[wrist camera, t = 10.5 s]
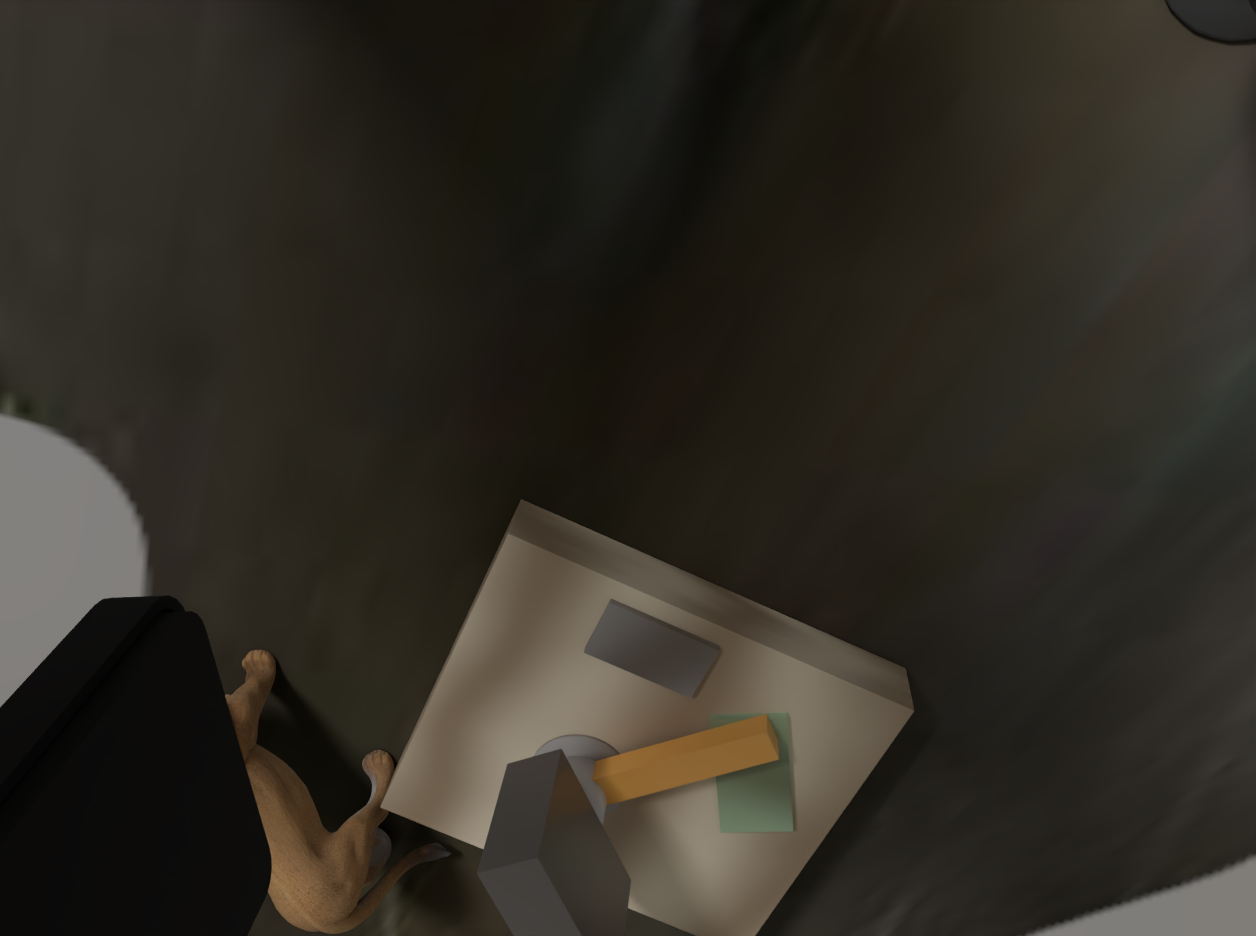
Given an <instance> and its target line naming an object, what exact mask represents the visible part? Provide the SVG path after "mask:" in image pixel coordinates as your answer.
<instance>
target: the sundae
mask: <svg viewBox="0 0 1256 936" xmlns="http://www.w3.org/2000/svg"><path fill="white" fill-rule="evenodd" d="M1166 1H1167V3H1168V6H1169V8H1170V9H1171V11H1172V12H1173V13H1174V14H1175V15H1176V16H1177V17H1178V18H1179V19H1180V20H1181V21H1182V22H1183V23H1184V24H1186V25H1187V26H1188V27H1190V28H1191V29H1192V30H1193V31H1195V32H1197V33H1200V34H1202V35H1205V36H1208V37H1211V38H1215V39H1219V40H1224V41H1242V40H1250V39H1256V0H1166Z"/></svg>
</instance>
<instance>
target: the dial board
mask: <svg viewBox="0 0 1256 936" xmlns="http://www.w3.org/2000/svg"><path fill="white" fill-rule="evenodd" d="M913 712H914V706H913V701H912V696H911V692H910V687H909V682H908V677H907V672H906V668H904V667H902V666H900V665H897V664H895V663H893V662H890V661H888V660H886V659H884V658H881V657H879V656H877V655H875V654H872V653H870V652H868V651H865V650H863V649H861V648H859V647H856V646H854V645H852V644H850V643H847V642H845V641H843V640H840V639H838V638H836V637H834V636H831V635H829V634H827V633H825V632H822V631H820V630H818V629H815V628H813V627H811V626H809V625H806V624H804V623H802V622H800V621H797V620H795V619H793V618H790V617H788V616H786V615H784V614H781V613H779V612H777V611H775V610H772V609H770V608H768V607H765V606H763V605H761V604H759V603H756V602H754V601H752V600H750V599H747V598H745V597H743V596H740V595H738V594H736V593H734V592H731V591H729V590H727V589H725V588H722V587H720V586H718V585H715V584H713V583H711V582H709V581H706V580H704V579H702V578H700V577H697V576H695V575H693V574H690V573H688V572H686V571H684V570H681V569H679V568H677V567H674V566H672V565H670V564H668V563H665V562H663V561H661V560H659V559H656V558H654V557H652V556H649V555H647V554H645V553H643V552H640V551H638V550H636V549H634V548H631V547H629V546H627V545H624V544H622V543H620V542H618V541H615V540H613V539H611V538H609V537H606V536H604V535H602V534H599V533H597V532H595V531H593V530H590V529H588V528H586V527H584V526H581V525H579V524H577V523H574V522H572V521H570V520H568V519H565V518H563V517H561V516H559V515H556V514H554V513H552V512H549V511H547V510H545V509H543V508H540V507H538V506H536V505H534V504H531V503H529V502H527V501H524V500H522V499H521V501H520V503H519V505H518V507H517V509H516V511H515V513H514V516H513V518H512V520H511V522H510V524H509V526H508V528H507V531H506V533H505V535H504V537H503V539H502V541H501V543H500V546H499V548H498V550H497V552H496V554H495V556H494V558H493V561H492V563H491V565H490V567H489V569H488V571H487V573H486V576H485V578H484V580H483V582H482V584H481V586H480V588H479V591H478V593H477V595H476V597H475V599H474V601H473V603H472V606H471V608H470V610H469V612H468V614H467V616H466V619H465V621H464V623H463V625H462V627H461V629H460V631H459V634H458V636H457V638H456V640H455V642H454V644H453V646H452V649H451V651H450V653H449V655H448V657H447V659H446V661H445V664H444V666H443V668H442V670H441V672H440V674H439V676H438V679H437V681H436V683H435V685H434V687H433V689H432V691H431V694H430V696H429V698H428V700H427V702H426V704H425V706H424V709H423V711H422V713H421V715H420V717H419V719H418V721H417V724H416V726H415V728H414V730H413V732H412V734H411V736H410V739H409V741H408V743H407V745H406V747H405V749H404V751H403V754H402V756H401V758H400V760H399V762H398V764H397V767H396V769H395V772H394V774H393V777H392V779H391V782H390V784H389V787H388V789H387V792H386V794H385V797H384V799H383V802H382V804H381V808H383V809H385V810H388V811H390V812H393V813H395V814H398V815H400V816H403V817H405V818H408V819H410V820H413V821H415V822H418V823H420V824H422V825H425V826H427V827H430V828H432V829H435V830H437V831H440V832H442V833H445V834H447V835H450V836H452V837H454V838H457V839H459V840H462V841H464V842H467V843H469V844H472V845H474V846H477V847H479V848H482V849H484V846H485V842H486V839H487V835H488V832H489V828H490V824H491V821H492V817H493V814H494V810H495V806H496V803H497V799H498V796H499V792H500V788H501V785H502V781H503V778H504V774H505V770H506V767H507V764H508V763H512V762H515V761H519V760H523V759H526V758H530V757H533V756H537V755H540V754H544V753H547V752H551V751H554V750H558V749H562V750H563V752H564V754H565V756H566V757H568V756H584V757H588V758H590V759H593V760H595V761H598V760H601V759H605V758H609V757H612V756H616V755H619V754H623V753H627V752H630V751H634V750H637V749H641V748H645V747H648V746H652V745H655V744H659V743H663V742H666V741H670V740H673V739H677V738H681V737H684V736H688V735H692V734H695V733H699V732H702V731H706V730H710V729H713V728H717V727H720V726H724V725H728V724H731V723H735V722H738V721H742V720H746V719H749V718H753V717H756V716H760V715H764V714H767V716H768V719H769V721H770V723H771V725H772V728H773V730H774V732H775V734H776V737H777V739H778V747H779V760H775V761H771V762H767V763H764V764H760V765H756V766H752V767H749V768H745V769H741V770H737V771H734V772H730V773H726V774H722V775H719V776H715V777H711V778H707V779H704V780H700V781H696V782H693V783H689V784H685V785H681V786H678V787H674V788H670V789H666V790H663V791H659V792H655V793H651V794H648V795H644V796H640V797H636V798H633V799H629V800H625V801H621V802H618V803H614V804H610V805H606V808H605V815H604V821H603V828H604V830H605V831H606V833H607V835H608V837H609V839H610V841H611V843H612V845H613V847H614V848H615V850H616V852H617V854H618V856H619V858H620V860H621V862H622V864H623V865H624V867H625V869H626V871H627V873H628V875H629V877H630V879H631V885H630V894H629V902H628V908H629V909H632V910H634V911H637V912H639V913H642V914H644V915H647V916H649V917H652V918H654V919H657V920H659V921H661V922H664V923H666V924H669V925H671V926H674V927H676V928H679V929H681V930H684V931H686V932H689V933H691V934H693V935H696V936H755V935H756V934H757V932H758V931H759V930H760V928H761V927H762V925H763V924H764V923H765V921H766V920H767V918H768V917H769V915H770V914H771V913H772V911H773V910H774V908H775V907H776V906H777V904H778V903H779V901H780V900H781V899H782V897H783V896H784V894H785V893H786V891H787V890H788V889H789V887H790V886H791V884H792V883H793V882H794V880H795V879H796V877H797V876H798V875H799V873H800V872H801V870H802V869H803V867H804V866H805V865H806V863H807V862H808V860H809V859H810V858H811V856H812V855H813V853H814V852H815V851H816V849H817V848H818V846H819V845H820V843H821V842H822V841H823V839H824V838H825V836H826V835H827V834H828V832H829V831H830V829H831V828H832V827H833V825H834V824H835V822H836V821H837V819H838V818H839V817H840V815H841V814H842V812H843V811H844V810H845V808H846V807H847V805H848V804H849V803H850V801H851V800H852V798H853V797H854V795H855V794H856V793H857V791H858V790H859V788H860V787H861V786H862V784H863V783H864V781H865V780H866V779H867V777H868V776H869V774H870V773H871V772H872V770H873V769H874V767H875V766H876V764H877V763H878V762H879V760H880V759H881V757H882V756H883V755H884V753H885V752H886V750H887V749H888V748H889V746H890V745H891V743H892V742H893V740H894V739H895V738H896V736H897V735H898V733H899V732H900V731H901V729H902V728H903V726H904V725H905V724H906V722H907V721H908V719H909V718H910V716H911V715H912V714H913Z"/></svg>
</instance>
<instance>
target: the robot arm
mask: <svg viewBox="0 0 1256 936" xmlns="http://www.w3.org/2000/svg"><path fill="white" fill-rule="evenodd" d="M271 872H272V858H271V852H270V847H269V844H268V840H267V837H266V834H265V830H264V827H263V823H262V820H261V817H260V813H259V810H258V806H257V803H256V800H255V796H254V793H253V789H252V786H251V782H250V779H249V776H248V772H247V769H246V765H245V762H244V759H243V755H242V752H241V748H240V745H239V741H238V738H237V735H236V731H235V728H234V724H233V721H232V718H231V714H230V711H229V707H228V704H227V700H226V697H225V694H224V690H223V687H222V683H221V680H220V677H219V673H218V670H217V666H216V663H215V659H214V656H213V653H212V649H211V646H210V642H209V639H208V636H207V632H206V629H205V626H204V624H203V621H202V619H201V618H200V617H199V616H198V614H196V613H194V612H192V611H188V612H185V610H184V608H183V606H182V605H181V604H180V602H179V601H178V600H177V599H175V598H173V597H171V596H147V597H122V598H108V599H103V600H101V601H100V602H98V603H97V604H96V605H94V607H93V608H92V609H91V610H90V611H89V612H88V613H87V614H86V615H85V616H84V617H83V618H82V620H81V621H80V622H79V623H78V624H77V625H76V626H75V627H74V629H72V630H71V631H70V632H69V634H68V635H67V636H66V637H65V638H64V639H63V640H62V641H61V642H60V643H59V644H58V645H57V647H56V648H55V649H54V650H53V651H52V652H51V653H50V654H49V655H48V656H47V658H46V659H45V660H44V661H43V662H42V663H41V664H40V665H39V666H38V667H37V668H36V669H35V671H34V672H33V673H32V674H31V675H30V676H29V677H28V678H27V679H26V680H25V681H24V682H23V683H22V685H21V686H20V687H19V688H18V689H17V690H16V691H15V692H14V694H12V695H11V697H10V698H9V699H8V700H7V701H6V702H5V703H4V704H3V705H2V706H1V707H0V936H247V935H248V933H249V931H250V929H251V926H252V924H253V922H254V920H255V918H256V916H257V914H258V912H259V910H260V908H261V906H262V904H263V902H264V900H265V897H266V895H267V892H268V889H269V885H270V880H271Z"/></svg>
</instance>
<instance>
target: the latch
mask: <svg viewBox="0 0 1256 936" xmlns="http://www.w3.org/2000/svg"><path fill="white" fill-rule="evenodd" d="M775 760H779V747H778V739H777V737H776V734H775V732H774V730H773V728H772V725H771V723H770V721H769V719H768V716H767V714H764V715H760V716H756V717H753V718H749V719H746V720H742V721H738V722H735V723H731V724H728V725H724V726H720V727H717V728H713V729H710V730H706V731H702V732H699V733H695V734H692V735H688V736H684V737H681V738H677V739H673V740H670V741H666V742H663V743H659V744H655V745H652V746H648V747H645V748H641V749H637V750H634V751H630V752H627V753H623V754H619V755H616V756H612V757H609V758H605V759H601V760H598V761H595V760H593V759H590V758H588V757H584V756H568V757H566V756H565V754H564V752H563V750H562V749H558V750H554V751H551V752H547V753H544V754H540V755H537V756H533V757H530V758H526V759H523V760H519V761H515V762H512V763H508V764H507V767H506V770H505V774H504V778H503V781H502V785H501V788H500V792H499V796H498V799H497V803H496V806H495V810H494V814H493V817H492V821H491V824H490V828H489V832H488V835H487V839H486V842H485V846H484V850H483V853H482V857H481V860H480V864H479V868H478V871H477V875H478V876H479V878H480V880H481V881H482V883H483V885H484V886H485V888H486V890H487V891H488V893H489V895H490V897H491V898H492V900H493V902H494V903H495V905H496V907H497V908H498V910H499V912H500V913H501V915H502V917H503V918H504V920H505V922H506V924H507V925H508V927H509V929H510V930H511V932H512V934H513V935H514V936H625V927H626V919H627V911H628V902H629V894H630V885H631V879H630V877H629V875H628V873H627V871H626V869H625V867H624V865H623V864H622V862H621V860H620V858H619V856H618V854H617V852H616V850H615V848H614V847H613V845H612V843H611V841H610V839H609V837H608V835H607V833H606V831H605V830H604V828H603V821H604V815H605V808H606V805H610V804H614V803H618V802H621V801H625V800H629V799H633V798H636V797H640V796H644V795H648V794H651V793H655V792H659V791H663V790H666V789H670V788H674V787H678V786H681V785H685V784H689V783H693V782H696V781H700V780H704V779H707V778H711V777H715V776H719V775H722V774H726V773H730V772H734V771H737V770H741V769H745V768H749V767H752V766H756V765H760V764H764V763H767V762H771V761H775Z"/></svg>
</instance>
